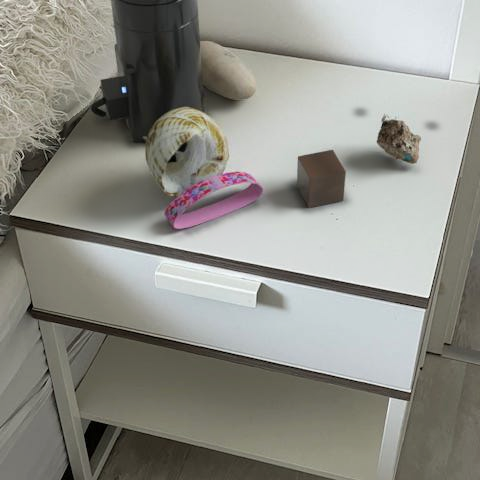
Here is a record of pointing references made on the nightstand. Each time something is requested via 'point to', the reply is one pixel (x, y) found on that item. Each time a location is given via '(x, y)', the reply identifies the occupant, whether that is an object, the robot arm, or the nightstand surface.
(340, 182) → the brown cube block
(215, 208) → the headband
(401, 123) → the rock
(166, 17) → the robot arm
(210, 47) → the stone
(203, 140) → the seashell
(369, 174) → the nightstand surface
